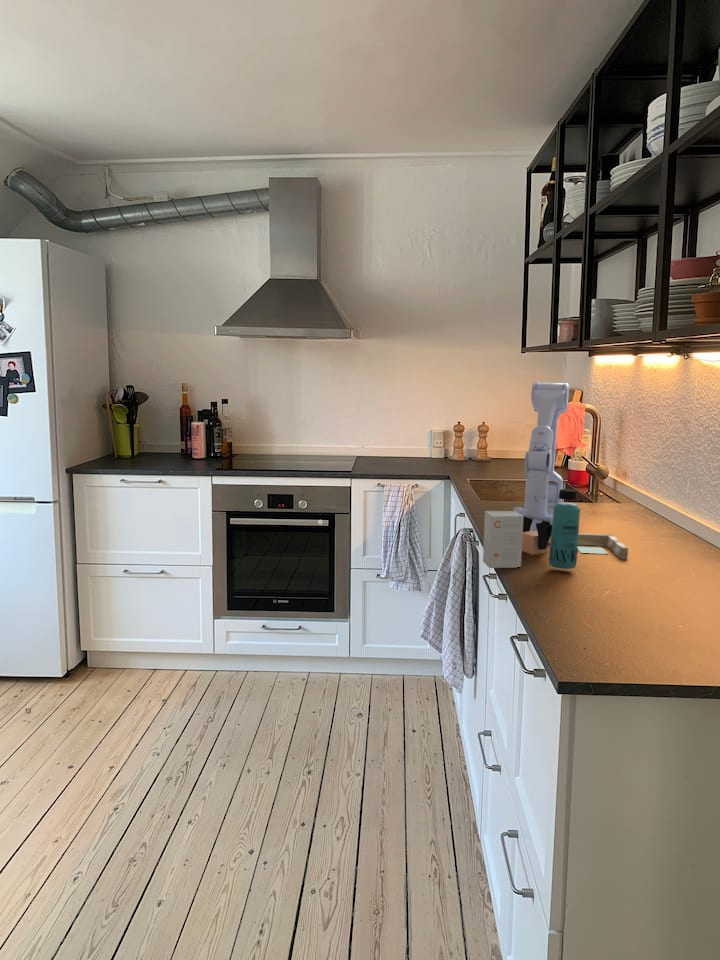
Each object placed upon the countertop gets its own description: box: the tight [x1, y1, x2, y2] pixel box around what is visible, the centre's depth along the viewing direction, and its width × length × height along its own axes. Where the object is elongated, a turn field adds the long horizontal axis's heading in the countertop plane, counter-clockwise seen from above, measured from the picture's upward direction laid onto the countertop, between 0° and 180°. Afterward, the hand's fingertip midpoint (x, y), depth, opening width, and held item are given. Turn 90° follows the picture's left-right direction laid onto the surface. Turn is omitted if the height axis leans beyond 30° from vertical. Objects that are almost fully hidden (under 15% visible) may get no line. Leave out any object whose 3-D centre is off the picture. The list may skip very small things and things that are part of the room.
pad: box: [577, 545, 609, 555], centre depth 192 cm, size 7×7×1 cm
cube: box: [522, 531, 548, 556], centre depth 190 cm, size 5×5×5 cm
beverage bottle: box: [548, 488, 581, 570], centre depth 171 cm, size 6×7×20 cm
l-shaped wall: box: [548, 532, 629, 560], centre depth 192 cm, size 15×17×3 cm
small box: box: [482, 510, 524, 569], centre depth 176 cm, size 8×6×13 cm
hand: (533, 546), depth 190 cm, fingers open, 6 cm apart
